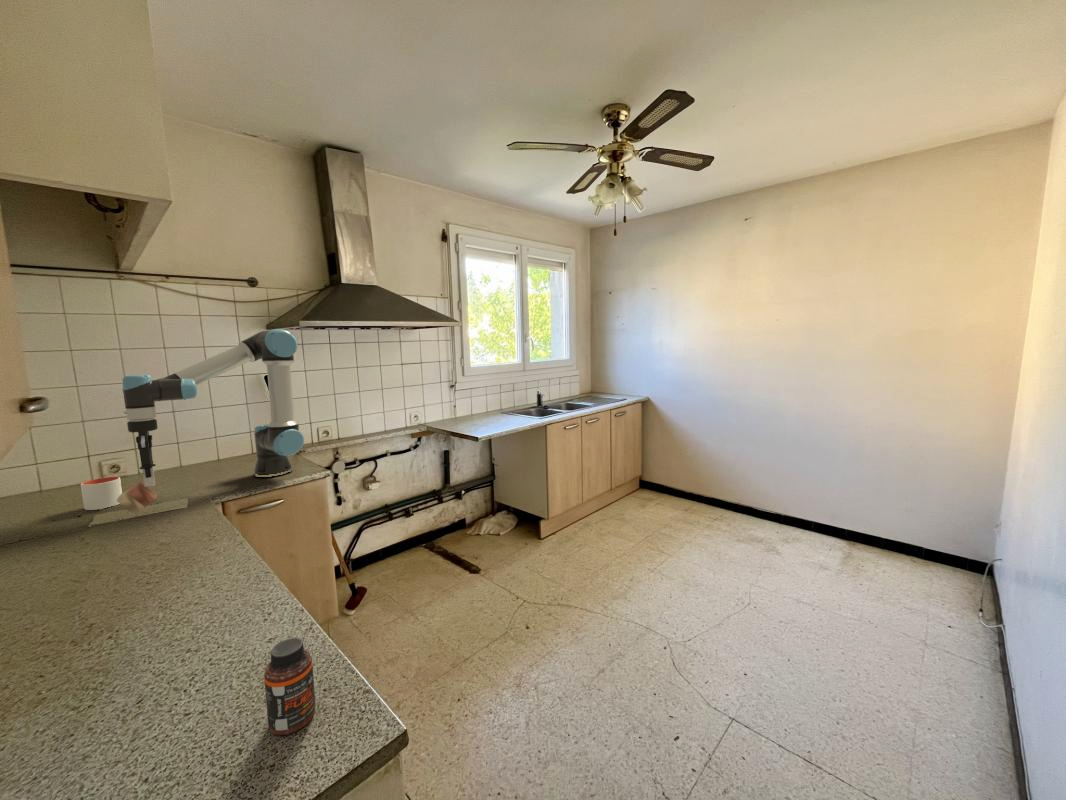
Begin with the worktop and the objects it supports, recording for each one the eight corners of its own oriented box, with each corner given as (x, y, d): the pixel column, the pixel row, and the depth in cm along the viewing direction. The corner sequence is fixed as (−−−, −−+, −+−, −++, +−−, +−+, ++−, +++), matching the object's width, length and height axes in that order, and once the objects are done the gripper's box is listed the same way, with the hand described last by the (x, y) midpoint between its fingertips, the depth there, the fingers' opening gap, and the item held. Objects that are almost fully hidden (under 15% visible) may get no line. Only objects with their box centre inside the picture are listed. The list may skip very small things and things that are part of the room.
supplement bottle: (289, 744, 56) (281, 666, 55) (258, 730, 59) (251, 655, 57) (325, 709, 62) (319, 637, 61) (296, 697, 64) (290, 628, 63)
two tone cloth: (141, 481, 148) (119, 495, 145) (139, 486, 143) (116, 500, 139) (157, 495, 151) (136, 509, 148) (155, 500, 146) (133, 514, 142)
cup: (99, 512, 146) (95, 485, 145) (76, 511, 148) (72, 484, 147) (131, 502, 156) (127, 476, 155) (109, 502, 158) (105, 476, 157)
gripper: (129, 418, 147) (137, 483, 150) (124, 423, 137) (133, 492, 140) (157, 416, 152) (165, 479, 155) (155, 420, 142) (163, 487, 144)
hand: (150, 485), depth 147 cm, fingers closed
